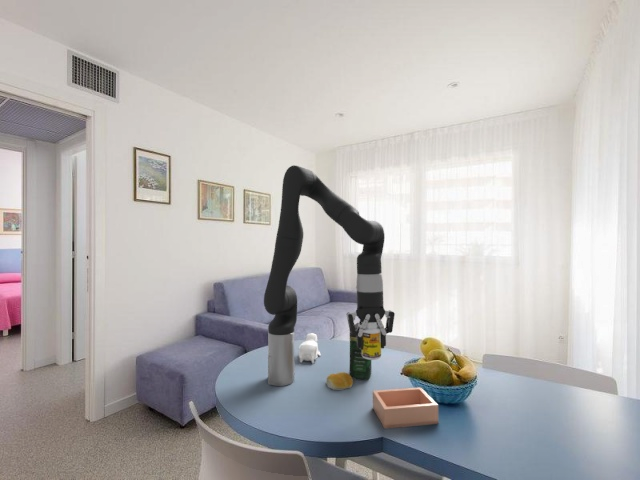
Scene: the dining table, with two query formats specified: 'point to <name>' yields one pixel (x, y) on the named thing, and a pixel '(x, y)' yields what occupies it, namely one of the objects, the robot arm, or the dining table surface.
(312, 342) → the white animal figurine
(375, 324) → the supplement bottle
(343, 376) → the bread roll
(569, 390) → the dining table surface
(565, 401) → the dining table surface
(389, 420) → the open box
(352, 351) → the coffee jar
